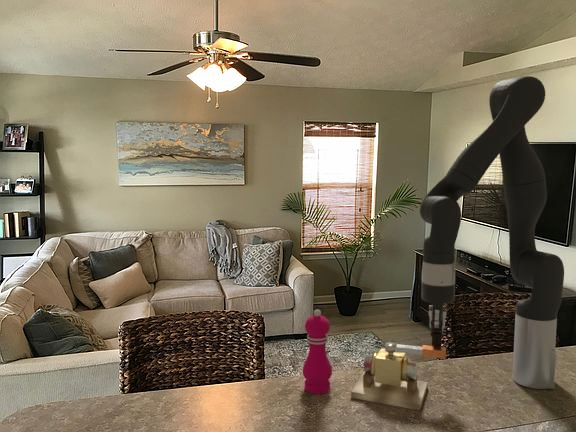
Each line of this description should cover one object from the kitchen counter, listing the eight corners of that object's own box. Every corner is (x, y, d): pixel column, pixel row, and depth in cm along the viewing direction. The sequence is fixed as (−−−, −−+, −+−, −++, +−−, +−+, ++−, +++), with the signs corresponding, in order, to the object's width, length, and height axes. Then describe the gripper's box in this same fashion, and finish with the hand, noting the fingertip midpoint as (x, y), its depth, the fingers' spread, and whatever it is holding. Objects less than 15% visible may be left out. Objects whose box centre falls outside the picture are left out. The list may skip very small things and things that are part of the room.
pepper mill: (332, 382, 126) (332, 305, 124) (331, 395, 119) (332, 314, 117) (303, 381, 127) (303, 305, 125) (301, 394, 120) (301, 313, 117)
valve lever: (445, 359, 114) (445, 351, 114) (384, 352, 118) (384, 345, 118) (445, 354, 117) (445, 347, 117) (385, 348, 121) (385, 341, 121)
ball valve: (417, 377, 121) (418, 350, 120) (413, 388, 115) (414, 360, 114) (368, 369, 125) (369, 343, 125) (362, 380, 119) (362, 353, 119)
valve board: (427, 387, 123) (427, 370, 122) (420, 410, 112) (420, 391, 111) (363, 377, 129) (363, 360, 129) (351, 397, 118) (351, 379, 118)
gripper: (455, 288, 110) (453, 364, 112) (454, 274, 122) (453, 342, 124) (419, 286, 112) (418, 360, 114) (423, 273, 125) (422, 339, 127)
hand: (436, 351), depth 119 cm, fingers closed
